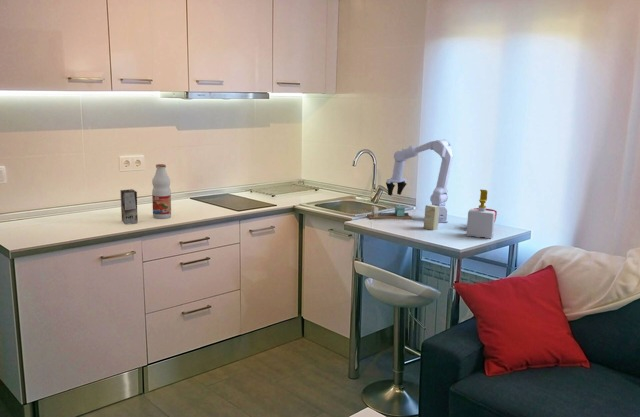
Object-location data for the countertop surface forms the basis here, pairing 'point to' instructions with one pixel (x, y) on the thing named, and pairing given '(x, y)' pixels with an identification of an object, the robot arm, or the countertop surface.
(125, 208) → the coffee box
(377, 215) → the rail board
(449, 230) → the countertop surface
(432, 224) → the skincare box
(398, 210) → the keeper
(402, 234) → the countertop surface
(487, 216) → the soap bottle
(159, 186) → the fruit juice
